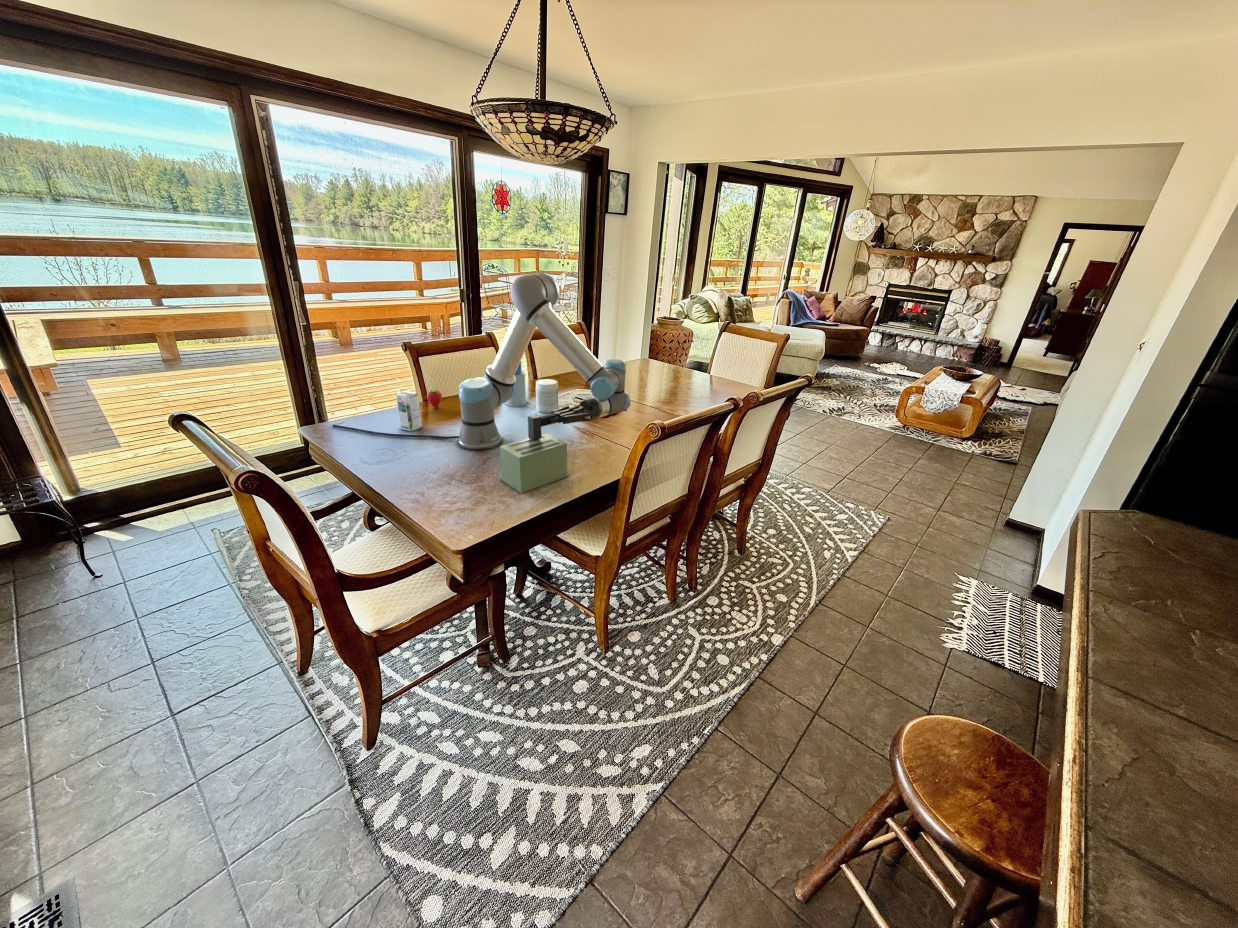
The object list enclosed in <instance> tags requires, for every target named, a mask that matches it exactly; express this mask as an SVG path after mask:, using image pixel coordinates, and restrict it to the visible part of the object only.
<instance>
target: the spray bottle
mask: <svg viewBox="0 0 1238 928" xmlns="http://www.w3.org/2000/svg"><path fill="white" fill-rule="evenodd" d="M514 376H515V378H516V382H515V384H514V385H515V390H514V393H513V395H512V397H511V398H510V399H509V400H508V401H506V405H507V406H509V407H523V406H525V405H526V404H527V393H526V391H527V390H526V374H525V372H524V371H522V360H521V361H520V363H519V365H518V368H517V370H516V372H515V374H514Z"/></svg>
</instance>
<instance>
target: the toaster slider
mask: <svg viewBox="0 0 1238 928" xmlns="http://www.w3.org/2000/svg"><path fill="white" fill-rule="evenodd" d="M541 417H542V416H539V415H538V414H537V413H536V414H531V415H527V434H528V436H527V438H530V439H532V440H533V441H535V440H538V439H541V435H542V427H541Z"/></svg>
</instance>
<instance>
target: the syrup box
mask: <svg viewBox="0 0 1238 928" xmlns="http://www.w3.org/2000/svg"><path fill="white" fill-rule="evenodd" d="M418 395H419V394H418V392H414V391H410V390H409V391H408V390H403V391H399V392H397V393H396V394H395V399H396V406H397V411H398V418H399V419H398V420H399V425H400V426H399V427H400V429H401V430H403V431H404V430H405V431H409V432H414V431H416V430H418V429H421V428H422V419H421V411H420V403H419V396H418Z"/></svg>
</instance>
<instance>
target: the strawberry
mask: <svg viewBox="0 0 1238 928" xmlns="http://www.w3.org/2000/svg"><path fill="white" fill-rule="evenodd" d="M442 397H443V395H442V393H441V392H440V390H439V389H438V388H436V389H435V388H434V387H433V389H428V393H426V400H427V401H428V403H429V404H430V405H431V406H432V407H433V408H434V409H438V407H439V406H440V404H441V402H442Z"/></svg>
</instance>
